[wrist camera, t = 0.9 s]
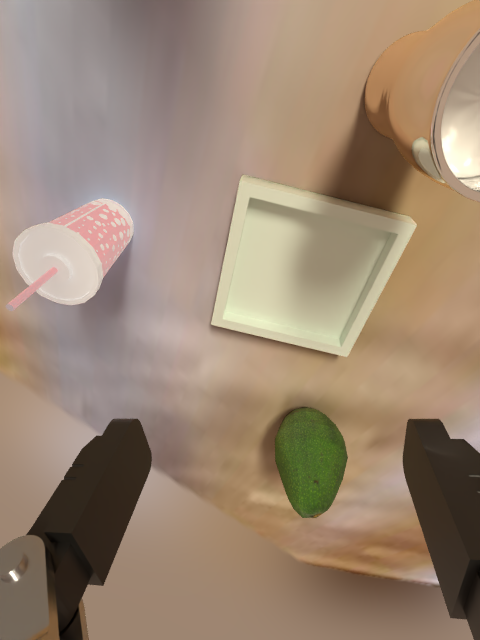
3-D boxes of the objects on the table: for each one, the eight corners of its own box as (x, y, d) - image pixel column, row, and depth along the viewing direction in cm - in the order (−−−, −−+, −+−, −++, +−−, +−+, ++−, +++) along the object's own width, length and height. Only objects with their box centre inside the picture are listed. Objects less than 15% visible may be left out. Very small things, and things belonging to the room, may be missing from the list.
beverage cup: (74, 242, 33) (-37, 329, 22) (77, 178, 30) (-53, 243, 18) (136, 263, 34) (60, 359, 23) (147, 203, 30) (62, 282, 19)
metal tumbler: (378, 164, 27) (454, 242, 14) (341, 69, 24) (397, 66, 11) (479, 107, 24) (678, 144, 12) (451, -8, 21) (681, -122, 9)
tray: (242, 174, 28) (239, 180, 26) (409, 216, 28) (417, 225, 27) (214, 313, 36) (210, 324, 35) (344, 344, 37) (347, 357, 35)
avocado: (280, 437, 47) (278, 533, 37) (271, 396, 42) (266, 492, 33) (342, 434, 45) (357, 534, 35) (339, 391, 41) (355, 492, 31)
